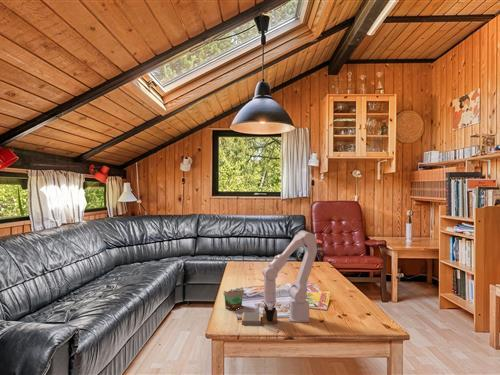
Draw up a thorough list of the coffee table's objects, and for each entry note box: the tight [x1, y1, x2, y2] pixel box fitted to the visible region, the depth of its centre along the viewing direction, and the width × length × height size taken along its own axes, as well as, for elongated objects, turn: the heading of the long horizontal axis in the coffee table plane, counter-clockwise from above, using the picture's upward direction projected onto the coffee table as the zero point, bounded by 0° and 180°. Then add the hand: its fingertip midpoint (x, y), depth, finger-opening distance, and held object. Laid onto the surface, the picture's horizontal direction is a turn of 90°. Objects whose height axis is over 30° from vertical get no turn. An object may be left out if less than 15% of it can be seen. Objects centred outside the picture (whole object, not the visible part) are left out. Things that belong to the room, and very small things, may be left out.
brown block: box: [262, 309, 278, 325], centre depth 160 cm, size 7×5×5 cm
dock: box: [241, 311, 262, 326], centre depth 161 cm, size 9×10×2 cm
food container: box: [223, 286, 245, 311], centre depth 176 cm, size 12×6×10 cm, turn 126°
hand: (269, 318), depth 160 cm, fingers closed on brown block, 5 cm apart
